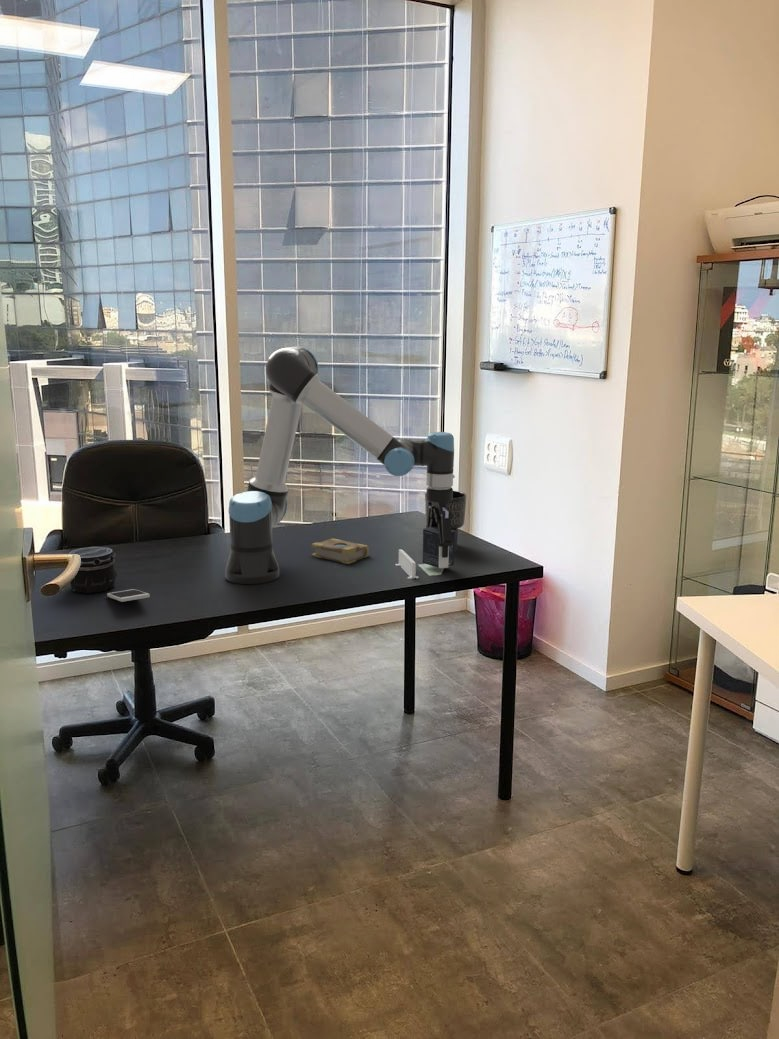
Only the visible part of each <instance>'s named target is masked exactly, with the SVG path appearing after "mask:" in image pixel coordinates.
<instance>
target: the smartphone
mask: <svg viewBox="0 0 779 1039" xmlns="http://www.w3.org/2000/svg"><path fill="white" fill-rule="evenodd" d="M106 595H107V597H109V598H110V599H113V600H116V601H118V602H122V603H123V602H127V601H128V602H130V601H134V600H135V601H136V600H140V599H146V598H150V593H148V592H144V591H141V590H139V589H134V588H132V589H126V590H121V591H119V590H118V591H114V592H113V591H112V592H108V593H106Z"/></svg>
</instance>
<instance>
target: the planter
mask: <svg viewBox="0 0 779 1039" xmlns="http://www.w3.org/2000/svg"><path fill="white" fill-rule="evenodd" d="M426 494H427V492H425V493H424V502H425V505H424V506H425V508H424V509H425V511H424V512H425V525H427V516H428V500H427V499H426ZM466 504H467V494H466V493H465V492H462V491H458V490H453V500H452V501H450V502H448V503H447V508H448V511H451V530H453V531H455V546H454V553H456V552H457V551H458V535H459V532H458V531H459V529H461V528H462V527H464V526H465V522H466V521H465V520H466V519H465V518H466V506H467V505H466Z"/></svg>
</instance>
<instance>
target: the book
mask: <svg viewBox="0 0 779 1039" xmlns="http://www.w3.org/2000/svg"><path fill="white" fill-rule="evenodd" d="M310 546H311V548H313V549H314V552H313V553H311V557H315V558H319V559H325V560H329V561H335V562H338V563H342V564H346V565H349V564H352V563H355V562H357V561H358V560H359V561H360V560H362V559H364V558H367V557H369V554H370V549H369V545H366V544H362V543H357V542H356V543H355V542H352V541H348V540H347V541H346V540H342V539H337V538H330V539H326V540H323V541H319V542H314V543H310Z"/></svg>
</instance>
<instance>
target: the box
mask: <svg viewBox="0 0 779 1039" xmlns="http://www.w3.org/2000/svg"><path fill="white" fill-rule="evenodd" d="M451 534H452V545H451V546H449V562H448V568H449V567H450V568H451V567H453V566H454V565H455V552H454V546H455V531H453V530H451ZM446 542H447V541H446ZM439 544H440V537H439V530H438V526H436V527H428V528H426V527H425V528H422V564H428V565H431V566H434V567H437V568H439V547H438V545H439ZM440 569H441V568H440Z"/></svg>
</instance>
